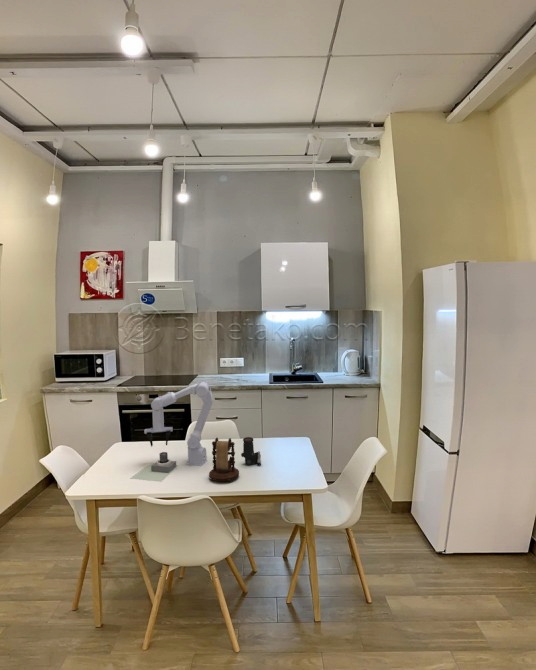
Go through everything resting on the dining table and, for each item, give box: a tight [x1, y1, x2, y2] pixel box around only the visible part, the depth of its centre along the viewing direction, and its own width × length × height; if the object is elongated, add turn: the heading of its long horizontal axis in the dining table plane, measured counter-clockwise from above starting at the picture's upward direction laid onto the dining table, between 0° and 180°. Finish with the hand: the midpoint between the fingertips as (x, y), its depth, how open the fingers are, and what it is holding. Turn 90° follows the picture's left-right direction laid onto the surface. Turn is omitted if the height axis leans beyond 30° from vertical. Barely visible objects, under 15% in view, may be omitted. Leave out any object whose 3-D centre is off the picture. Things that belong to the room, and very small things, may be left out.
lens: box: [158, 451, 169, 463], centre depth 215 cm, size 4×4×6 cm
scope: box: [240, 436, 262, 466], centre depth 221 cm, size 8×14×10 cm
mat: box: [129, 462, 180, 483], centre depth 212 cm, size 17×20×1 cm
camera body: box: [151, 458, 177, 473], centre depth 215 cm, size 10×8×4 cm
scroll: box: [208, 437, 240, 483], centre depth 204 cm, size 15×15×20 cm
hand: (159, 445), depth 223 cm, fingers open, 7 cm apart
